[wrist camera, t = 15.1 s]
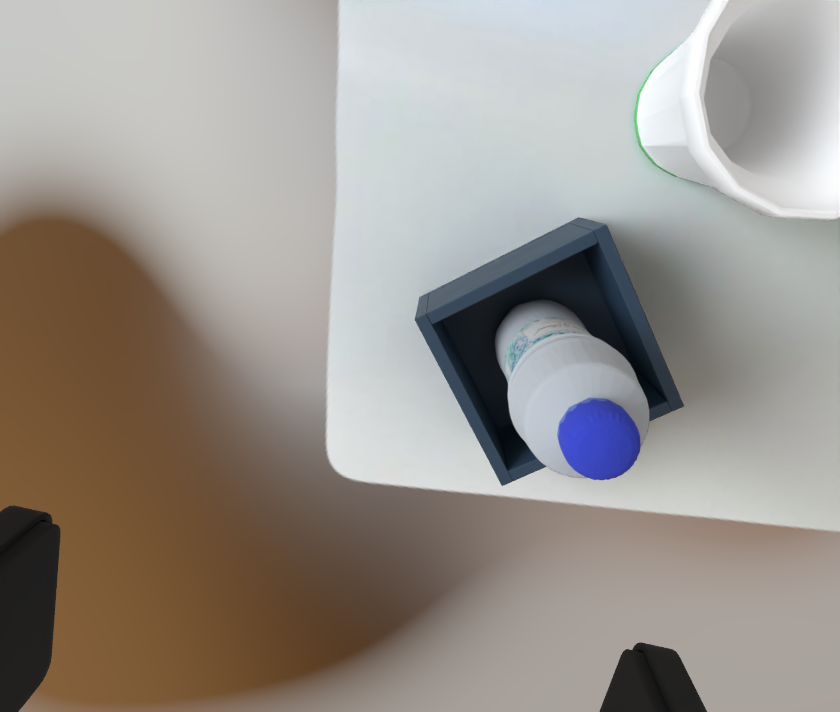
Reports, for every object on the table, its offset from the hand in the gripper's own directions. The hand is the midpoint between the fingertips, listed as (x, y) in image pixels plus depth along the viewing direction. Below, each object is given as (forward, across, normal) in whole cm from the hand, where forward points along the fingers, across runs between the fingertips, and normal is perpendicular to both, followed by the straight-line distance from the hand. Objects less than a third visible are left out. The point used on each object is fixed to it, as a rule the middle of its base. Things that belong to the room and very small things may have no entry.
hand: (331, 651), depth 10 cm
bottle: (+36, -9, +2) cm, 37 cm away
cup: (+36, -16, -16) cm, 43 cm away
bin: (+36, -9, +2) cm, 37 cm away
